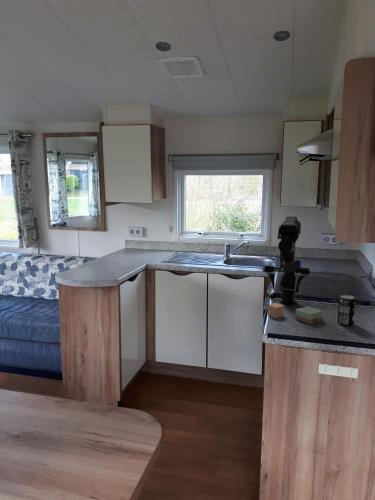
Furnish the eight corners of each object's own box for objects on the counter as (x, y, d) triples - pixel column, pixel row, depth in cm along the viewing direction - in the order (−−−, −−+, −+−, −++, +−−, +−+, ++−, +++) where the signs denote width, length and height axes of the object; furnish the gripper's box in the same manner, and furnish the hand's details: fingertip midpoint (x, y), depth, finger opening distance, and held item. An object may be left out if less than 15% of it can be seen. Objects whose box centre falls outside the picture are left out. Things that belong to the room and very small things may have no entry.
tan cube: (275, 313, 180) (275, 302, 179) (283, 316, 176) (284, 305, 175) (267, 315, 177) (268, 304, 176) (275, 318, 173) (276, 307, 172)
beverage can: (349, 321, 170) (351, 294, 168) (356, 326, 163) (358, 298, 161) (334, 321, 170) (336, 294, 168) (341, 326, 163) (343, 299, 161)
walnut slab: (307, 316, 177) (307, 311, 176) (322, 322, 170) (322, 316, 170) (295, 320, 172) (295, 314, 172) (310, 325, 166) (310, 320, 165)
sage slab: (307, 311, 176) (307, 306, 176) (321, 316, 170) (322, 311, 169) (295, 314, 172) (295, 309, 171) (310, 320, 165) (310, 314, 165)
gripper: (267, 252, 156) (265, 291, 156) (314, 255, 155) (312, 294, 155) (263, 252, 167) (261, 288, 167) (307, 254, 167) (305, 291, 166)
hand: (284, 290), depth 164 cm, fingers open, 9 cm apart
